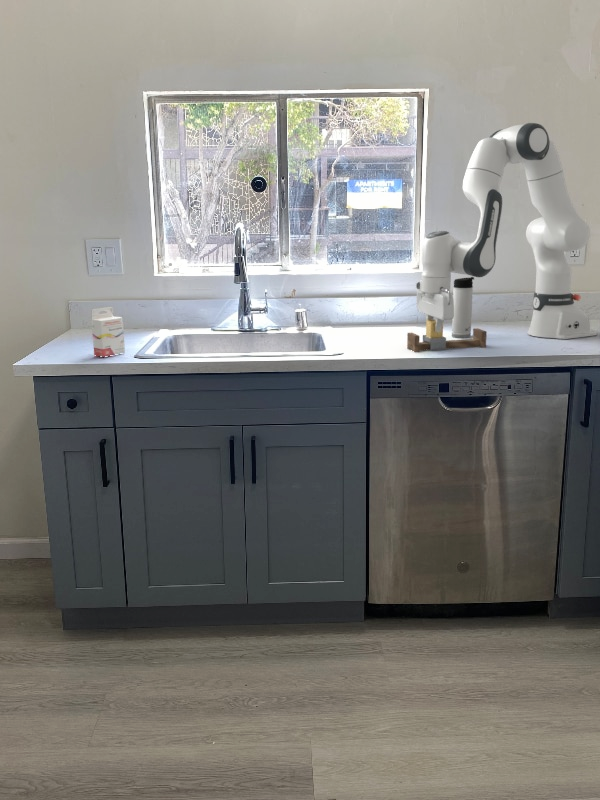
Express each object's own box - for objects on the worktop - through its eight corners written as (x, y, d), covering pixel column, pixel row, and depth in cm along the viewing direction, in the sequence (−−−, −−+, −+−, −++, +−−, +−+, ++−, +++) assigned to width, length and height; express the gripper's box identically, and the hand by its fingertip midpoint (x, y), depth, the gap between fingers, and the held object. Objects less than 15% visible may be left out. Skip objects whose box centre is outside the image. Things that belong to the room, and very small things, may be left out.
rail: (476, 343, 236) (477, 328, 235) (485, 347, 230) (486, 331, 229) (407, 348, 231) (407, 332, 229) (414, 352, 225) (414, 336, 224)
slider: (437, 345, 233) (437, 318, 231) (445, 349, 227) (446, 321, 225) (422, 346, 232) (423, 319, 230) (430, 350, 226) (431, 322, 224)
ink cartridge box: (103, 358, 225) (99, 310, 221) (93, 356, 228) (89, 309, 224) (126, 353, 231) (122, 307, 227) (116, 352, 234) (112, 306, 230)
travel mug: (471, 338, 245) (474, 278, 240) (451, 338, 246) (453, 278, 241) (471, 335, 251) (474, 276, 245) (451, 334, 252) (453, 276, 247)
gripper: (460, 289, 215) (458, 335, 219) (431, 282, 234) (430, 324, 238) (440, 290, 214) (438, 336, 218) (413, 282, 233) (412, 325, 237)
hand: (434, 330), depth 228 cm, fingers closed on slider, 3 cm apart
